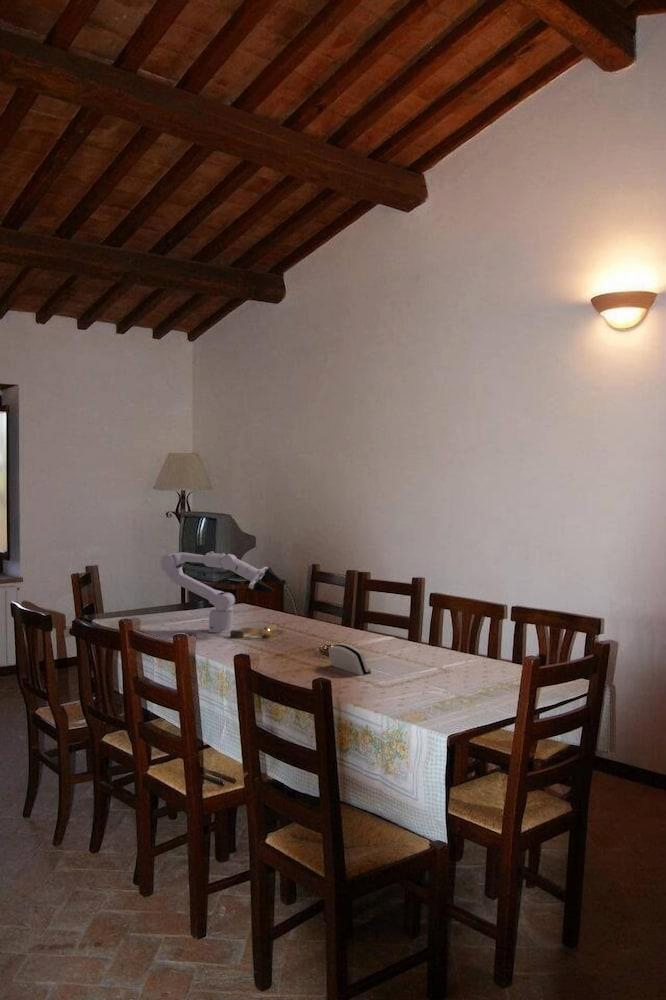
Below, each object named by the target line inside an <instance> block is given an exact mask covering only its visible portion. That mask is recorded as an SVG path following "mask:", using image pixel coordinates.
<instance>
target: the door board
mask: <svg viewBox="0 0 666 1000" xmlns="http://www.w3.org/2000/svg"><path fill="white" fill-rule="evenodd" d="M229 631H230V635H229V636H226V638H225V639H227V640H228V639H229V640H242V641H256V642H257V641H258V642H260V641H261V642H275V641H276V639H278V638H279V637H280V636H282V635H283V634H284V633H285V632H287V630H286V629H276V631H275V632H274V633H272V634H271V635H270V637H262V628H256V627H255V628H254V627H253V628H252V627H241V628H240V629H238V630H237V629H236V630H235V629H232V630H229Z"/></svg>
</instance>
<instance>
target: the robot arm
mask: <svg viewBox="0 0 666 1000" xmlns="http://www.w3.org/2000/svg"><path fill="white" fill-rule="evenodd" d="M159 562H160V567H161V570H162V571H164V572H165V574H166V576H167V577H169V579H170V581H171V582H172V583H174V584H176V585H178V586H180V587H182V588H184V589H185V590H187V591H189V592H192V593H194V594H195V595H197V596H200V597H202V598H204V599H205V600H207V601H208V602H209V603H210V605H213V606H214V608H215V609H210V612H209V621H208V633H218V634H220V633H222V632H224V631H231V630H234V629H233V628H234V626H233V625H234V607H233V606H235V604H236V598H235V595H233V593H231V592H225V591H222V590H218V589H215V588H213V587H211V586H209V585H207V584H205V583H203V582H201V581H199V580H198V579H194V578H193V577H191V576H189V575H187V574H186V573H184V571H183V564H184V563H186V562H187V563H200V564H204V565H205V567H209V568H217V569H218V568H219V569H220V568H223V570H226V571H227V570H229V571H231V572H233V573H235V574H236V575H238V576H240V577H242V578H244V579H246V580H247V581H249V582H250V583H249V585H248V589H251V590H253V592H255V593H256V592H261V593H265V594H270V595H271V594H272V593H273V591H274V589H273V588H272V587H271V586H269V585H267V584H266V583H265V582H263V580H262V579H263V578H264V580H265V581H270V582H273V583H275V584H276V585H281V582H282V578H280V577H279V576H278V575H277V574H276V573H275V572H274V570H273V569H272V567H268V566H266V565H265V566H264V567H262V568H259V569H258V568H256V567H255V566H252V565H251V564H249V563H248V562H245V561H243V560H241V559H238V558H237V556H236V555H235V554H232V553H227V554H225V552H222V553H215V551H209V552H207V553H206V554H205V555H203V554H197V553H190V552H182V551H180V552H175V551H174V552H172V553H168V554H167V553H166V554H164V555H162V556H161V557H160V561H159Z"/></svg>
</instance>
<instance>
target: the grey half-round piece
mask: <svg viewBox="0 0 666 1000" xmlns="http://www.w3.org/2000/svg"><path fill="white" fill-rule="evenodd" d="M328 655H329V661H330V664H331V666H333V667H335V668H338V669H342V670H343V671H347V672H349V673H353V674H355V675H359V676H363V675H364V673H368V674H372V670H371V668H370V667H368V665H367V663H366V660H365V657H364V654H363V652H362V651H361V650H359V649H358V648H356V647H355V646H353V645H351V644H348V643H336V644H334V645H333V646H330V647H329V648H328Z"/></svg>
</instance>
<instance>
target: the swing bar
mask: <svg viewBox="0 0 666 1000" xmlns="http://www.w3.org/2000/svg"><path fill="white" fill-rule="evenodd" d="M261 629H262V637H270V635H271V634H272V633H274V632H275V631H276V630H277V624H275V623H274V624H273V623H271V624H269V625H268V626H266V627H265V626H264V627H262V628H261Z"/></svg>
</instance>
